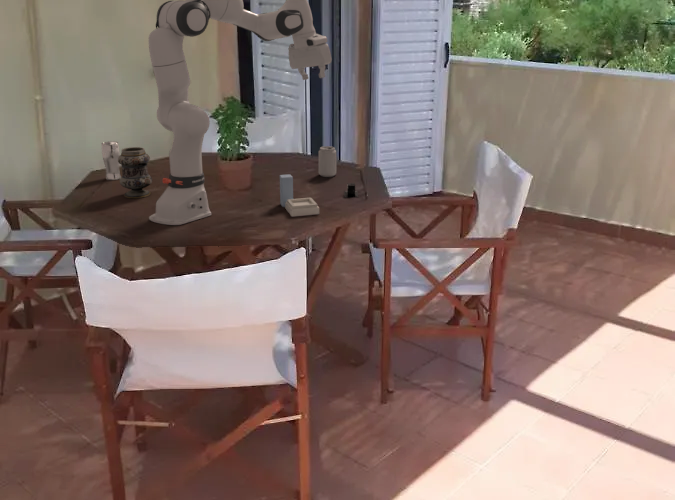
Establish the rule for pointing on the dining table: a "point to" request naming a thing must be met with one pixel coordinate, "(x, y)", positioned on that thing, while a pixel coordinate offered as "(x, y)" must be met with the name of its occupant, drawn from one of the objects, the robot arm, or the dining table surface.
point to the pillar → (286, 188)
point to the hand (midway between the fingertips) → (313, 78)
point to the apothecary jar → (135, 171)
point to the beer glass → (111, 159)
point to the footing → (301, 207)
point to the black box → (351, 191)
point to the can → (327, 161)
